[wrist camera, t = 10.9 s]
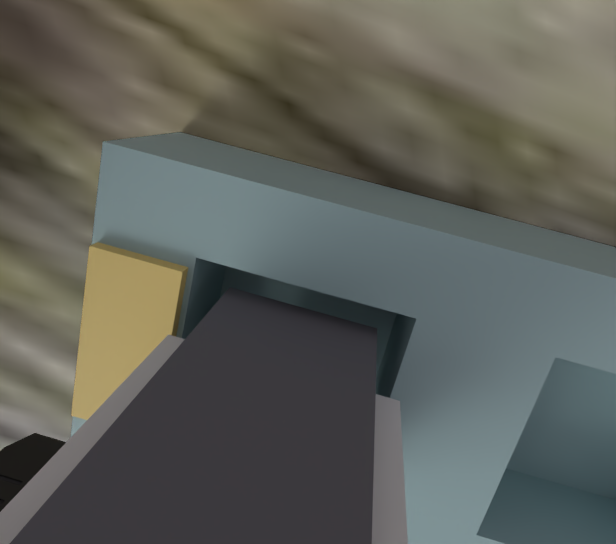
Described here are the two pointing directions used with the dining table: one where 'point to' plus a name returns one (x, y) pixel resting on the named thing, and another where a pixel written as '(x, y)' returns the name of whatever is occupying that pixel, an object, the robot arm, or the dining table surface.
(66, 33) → the dining table surface
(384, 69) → the dining table surface
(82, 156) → the dining table surface
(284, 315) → the plug
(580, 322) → the socket block
